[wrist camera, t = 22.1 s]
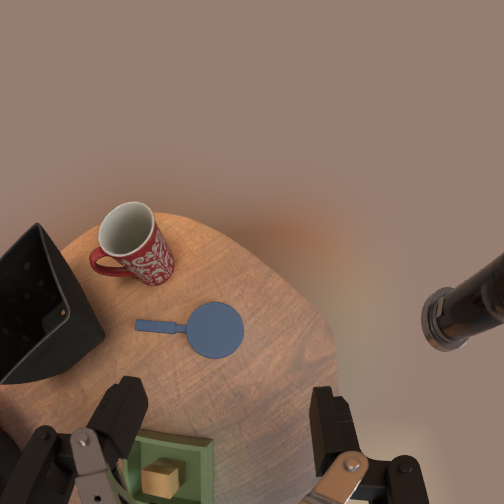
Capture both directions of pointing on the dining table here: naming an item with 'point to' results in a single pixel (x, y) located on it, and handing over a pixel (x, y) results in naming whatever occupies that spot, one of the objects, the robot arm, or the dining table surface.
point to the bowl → (7, 459)
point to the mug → (133, 245)
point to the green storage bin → (177, 448)
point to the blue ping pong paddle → (205, 329)
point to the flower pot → (41, 312)
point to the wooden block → (163, 477)
